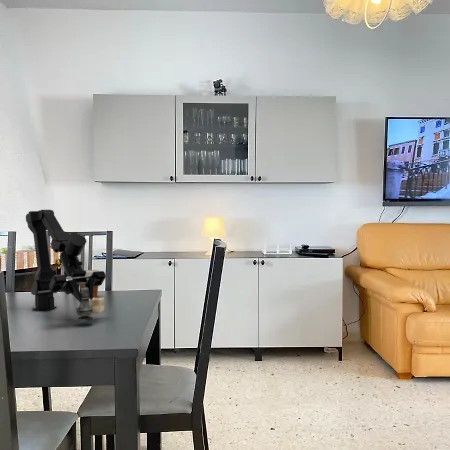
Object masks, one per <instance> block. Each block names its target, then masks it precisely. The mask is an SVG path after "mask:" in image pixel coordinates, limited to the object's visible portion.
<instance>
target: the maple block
mask: <svg viewBox="0 0 450 450" xmlns="http://www.w3.org/2000/svg"><path fill="white" fill-rule="evenodd" d="M89 305H90V307H93V308H94V309H93V311H92V314H101V313H102V312H104V311H105V298H104V297H97V298H93V299H92V300H90V299H89Z"/></svg>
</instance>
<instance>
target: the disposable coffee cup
mask: <svg viewBox="0 0 450 450" xmlns="http://www.w3.org/2000/svg"><path fill="white" fill-rule="evenodd" d="M85 270H86V274H85V275H86V276H91V275H92V273H93V272H96V271H100V269H99V270H98V269H85ZM83 285H84V283H80V289H81V288H82V287H84V286H83ZM98 292H99V286H94V287H93V298H98ZM89 299H90V298H89Z"/></svg>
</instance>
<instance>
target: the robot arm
mask: <svg viewBox="0 0 450 450" xmlns="http://www.w3.org/2000/svg"><path fill="white" fill-rule="evenodd" d="M25 222H26V223H27V228H28V229H29V231H30V232H31V233H32V235H33V241H34V243H33V244H34V249H35V250H34V251H35V258H36V265H37V266H36V267H37V270H36V272H35V274H34V277H33V278H34V279H33V280H34V281H33V282H32V285H31V288H30V293H31V295H33V296H34V306H35V307H33V308H32V311H44V312H47V311H50V310H54V309H57V306H56V305H55V297H54V294H57V293H58V292H60V293H65V294H66V295H72V296H73V297H74V298H75V299H76V300H77V301H78V302H79V303H80V302H81V301H82V298H81V294H80V287H81V285H80V283H84V284H85V286H86V287H87V288H88V289H89V297H90V300H92V299H93V287H94V286H98V287H100V286H102V284H103V283H104V281H105V280H106V277H107V274H106V273H105V271H104V270H99V271H96V272H93V273H92V275H91V276H86V275H85V274H86V270H87V269H84V268H83V266H82V265H83V264H84V263H83V261H81V260H80V259H79V256H80V255H81V254H82V253H83V250H84V248H85V246H86V245H87V239H86V237H84V236H83V235H81V234H79V233H78V232H77V231H72V232H71V233H69V232H68V231H64V229H63V228H62V225H61V224H60V222H59V221H58V219H57V218H56V216H55V212H54V210H53V209H40V210H30V211H28V213H26V215H25ZM47 232H48V234H49V236H50V237H51V241H50V245H51V249H52V250H53V252H54V253H60V255H59V259H58V262H59V264H62V266H63V269H64V271H63V274H57V271H56V270H55V269H53V268H52V267H51V260H50V252H49V251H50V250H49V246H48V245H49V244H48V236H47Z"/></svg>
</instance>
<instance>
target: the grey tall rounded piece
mask: <svg viewBox="0 0 450 450" xmlns="http://www.w3.org/2000/svg"><path fill="white" fill-rule="evenodd" d="M83 286H84V287H82V288H81V287H80V288H79V291H80V294H81V298H82V301H81V302H79V306H78V307H76V308H75V311H76V315H78V316H79V317H77V318H76V321H78V322H89V321H91V320H93V317H92V316H91V315H92V314H93V313H92V311H93V309H94V308H93V307H90V305H89V298H90V297H89V289H88V288H87V287H86V286H85V284H84V285H83Z"/></svg>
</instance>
